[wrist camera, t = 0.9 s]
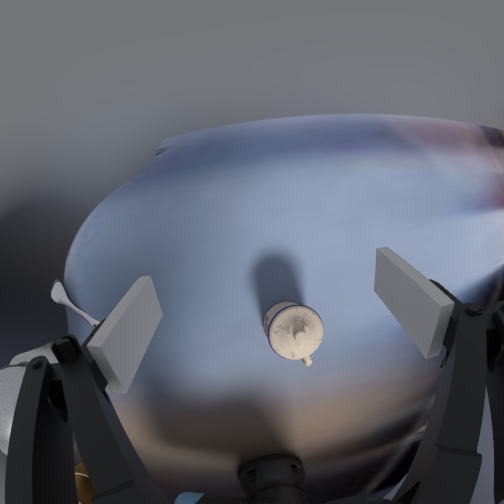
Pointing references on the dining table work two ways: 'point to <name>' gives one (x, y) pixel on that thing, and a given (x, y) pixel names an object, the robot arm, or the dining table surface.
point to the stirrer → (61, 298)
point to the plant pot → (83, 485)
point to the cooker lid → (9, 400)
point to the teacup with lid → (293, 331)
